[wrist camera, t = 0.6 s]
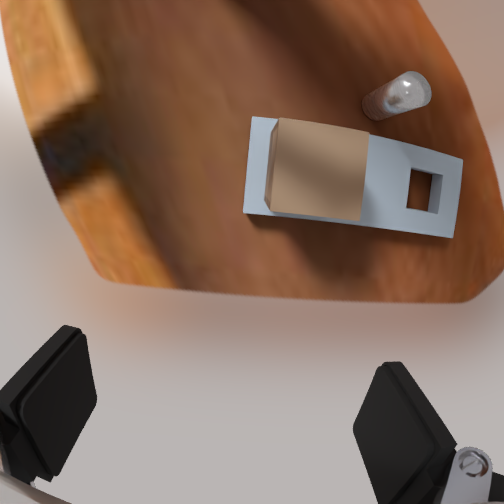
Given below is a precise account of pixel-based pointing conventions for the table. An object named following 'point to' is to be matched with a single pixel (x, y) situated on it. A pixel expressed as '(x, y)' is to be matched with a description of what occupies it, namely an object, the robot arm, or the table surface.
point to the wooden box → (316, 169)
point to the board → (374, 184)
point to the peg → (397, 96)
